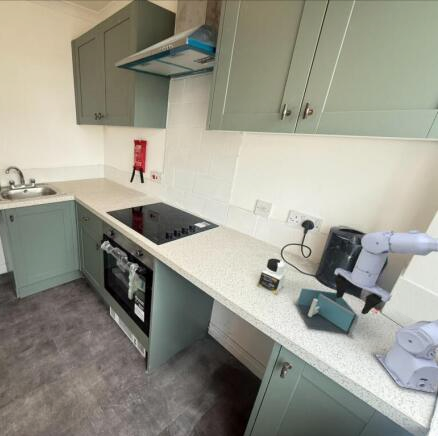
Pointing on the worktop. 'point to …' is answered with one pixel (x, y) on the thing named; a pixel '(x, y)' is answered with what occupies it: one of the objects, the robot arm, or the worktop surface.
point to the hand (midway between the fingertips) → (351, 304)
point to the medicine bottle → (273, 275)
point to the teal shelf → (332, 312)
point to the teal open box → (316, 319)
